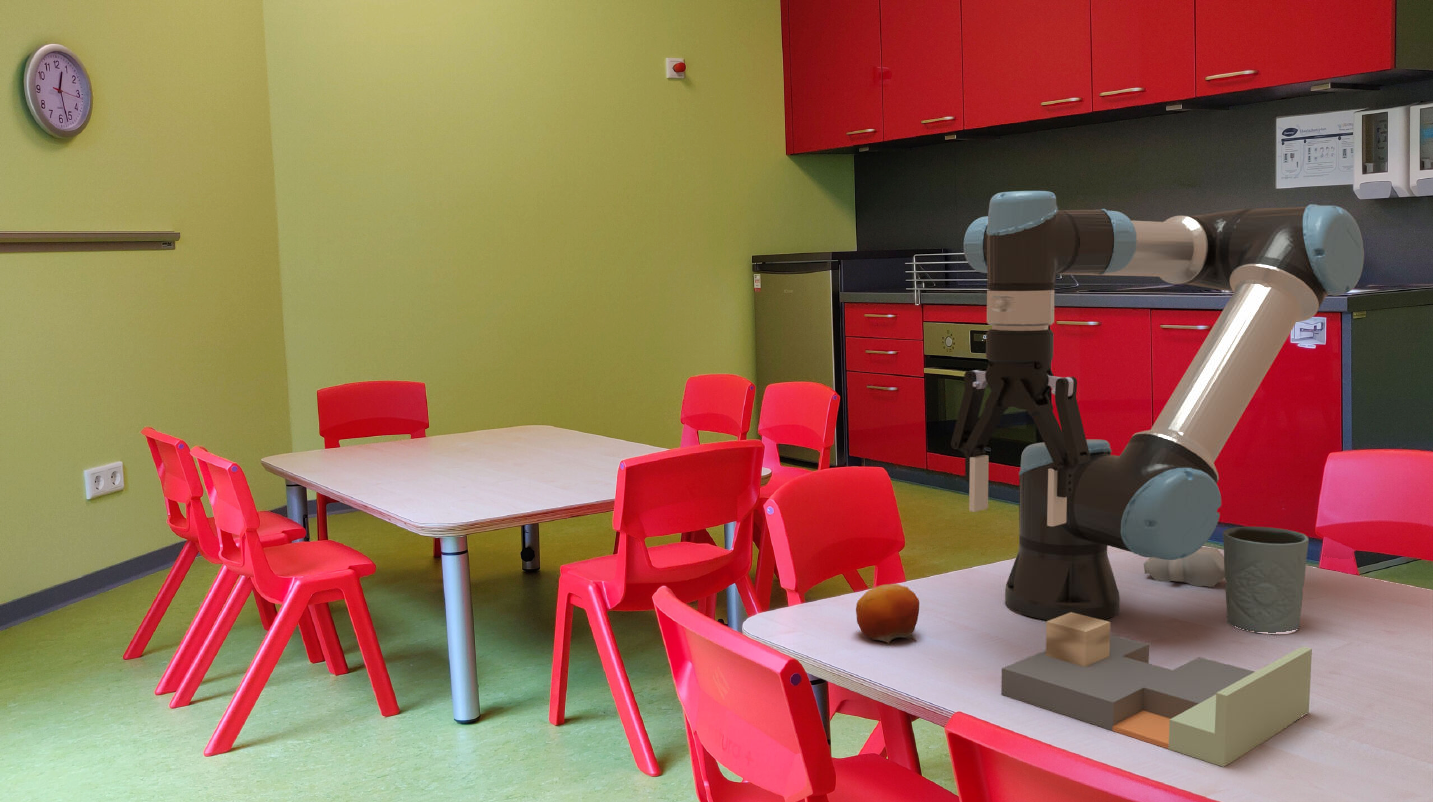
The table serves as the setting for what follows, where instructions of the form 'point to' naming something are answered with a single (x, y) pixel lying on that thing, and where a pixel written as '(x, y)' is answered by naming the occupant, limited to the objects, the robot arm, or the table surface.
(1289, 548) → the embossed grey cup
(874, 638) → the fruit
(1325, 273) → the robot arm
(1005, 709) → the table surface
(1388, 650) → the table surface
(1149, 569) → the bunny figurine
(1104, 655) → the block
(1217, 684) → the box
